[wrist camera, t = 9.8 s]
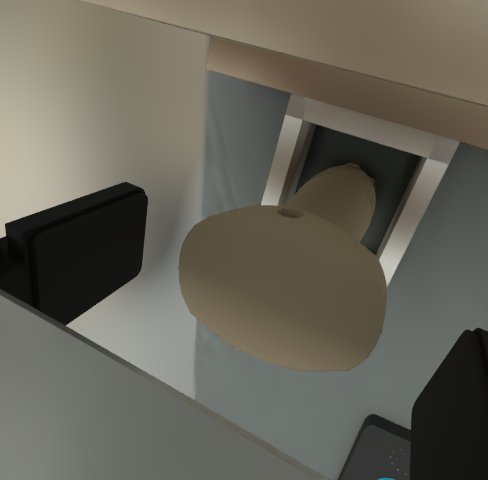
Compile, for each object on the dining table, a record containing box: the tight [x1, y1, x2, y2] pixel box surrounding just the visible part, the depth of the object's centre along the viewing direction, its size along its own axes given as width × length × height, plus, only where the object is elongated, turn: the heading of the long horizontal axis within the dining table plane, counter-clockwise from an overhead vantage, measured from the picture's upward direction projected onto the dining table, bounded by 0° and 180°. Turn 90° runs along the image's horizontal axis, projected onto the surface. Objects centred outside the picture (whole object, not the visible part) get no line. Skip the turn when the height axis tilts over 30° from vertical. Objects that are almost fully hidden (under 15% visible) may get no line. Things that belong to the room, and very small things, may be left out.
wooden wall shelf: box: [80, 0, 488, 286], centre depth 17 cm, size 13×18×14 cm
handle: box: [179, 163, 387, 371], centre depth 17 cm, size 5×6×15 cm
